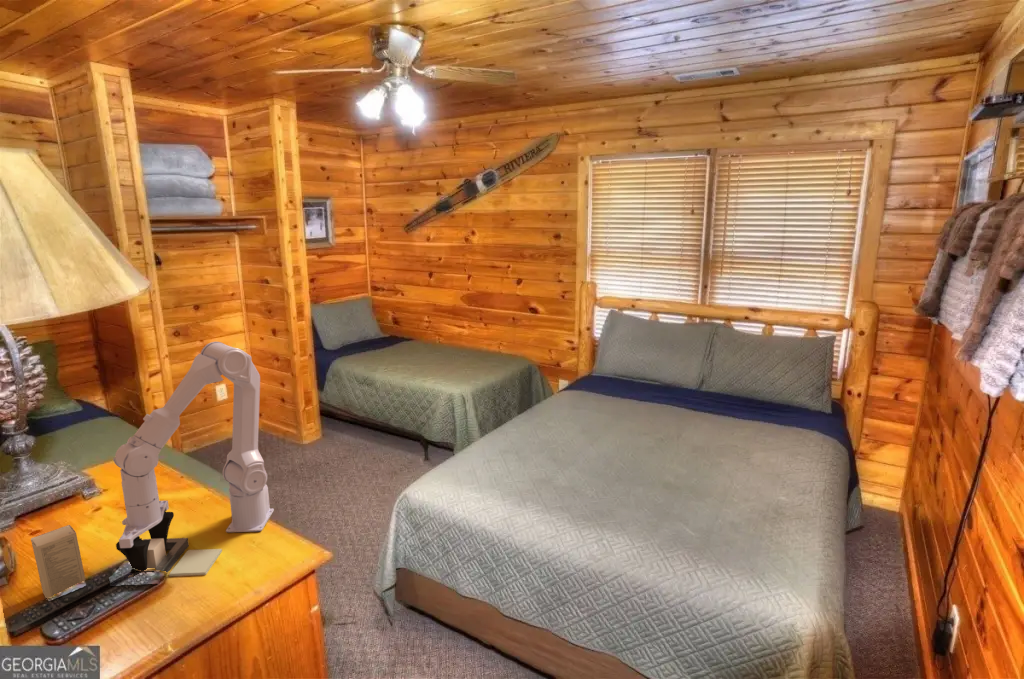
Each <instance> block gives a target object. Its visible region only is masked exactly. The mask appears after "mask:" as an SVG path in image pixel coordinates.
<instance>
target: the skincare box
mask: <svg viewBox="0 0 1024 679" xmlns="http://www.w3.org/2000/svg"><path fill="white" fill-rule="evenodd" d="M30 541H31V545H32V549H33V554H34V559H35V563H36V567H37V572H38V576H39V581H40V584H41V585H40V586H41V591H42V593H43V595H44V598H45V599H46V598H48V597H51V596H53V595H54V594H57V593H59V592H61V591H63V590H65V589H67V588H69V587H71V586H73V585H75V584H77V583H80V582H82V581H85V580H86V575H85V571H84V570H85V569H84V566H83V561H82V556H81V551H80V545H79V540H78V537H77V532H76V531H75V529H74V528H73V527H72V526H71V525H70V524H67V525H65V526H62V527H59V528H57V529H54V530H51V531H48V532H45V533H41V534H40V535H37V536H33V537H32V538H30Z"/></svg>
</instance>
